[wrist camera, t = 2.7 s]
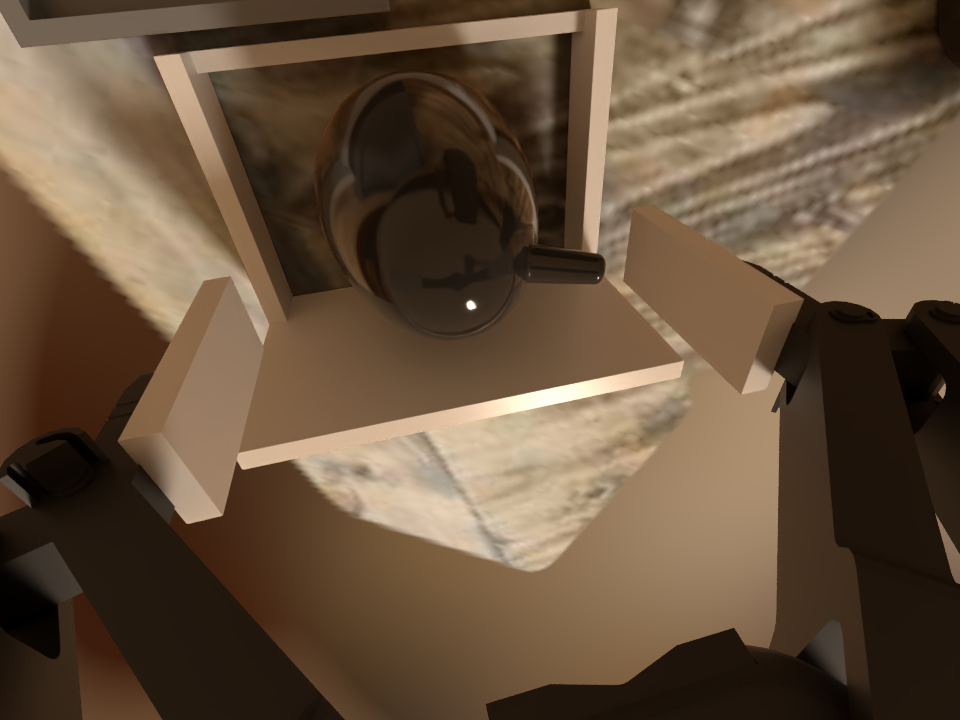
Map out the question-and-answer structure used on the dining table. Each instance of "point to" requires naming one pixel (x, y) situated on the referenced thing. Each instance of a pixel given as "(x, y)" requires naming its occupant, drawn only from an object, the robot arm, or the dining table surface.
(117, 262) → the dining table surface
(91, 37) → the tray
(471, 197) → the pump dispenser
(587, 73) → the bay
